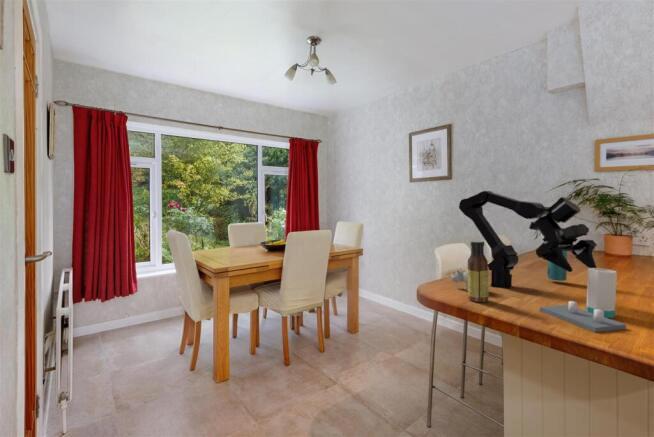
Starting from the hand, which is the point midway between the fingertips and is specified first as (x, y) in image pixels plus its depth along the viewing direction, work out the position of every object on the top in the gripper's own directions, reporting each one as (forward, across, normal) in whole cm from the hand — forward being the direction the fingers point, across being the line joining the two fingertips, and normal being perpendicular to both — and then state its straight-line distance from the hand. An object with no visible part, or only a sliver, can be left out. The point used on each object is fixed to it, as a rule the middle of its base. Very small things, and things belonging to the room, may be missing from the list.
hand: (583, 270), depth 97 cm
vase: (+12, 0, +5) cm, 13 cm away
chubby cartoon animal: (-10, -21, +27) cm, 35 cm away
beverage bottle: (-11, +21, +28) cm, 36 cm away
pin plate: (+13, -10, +3) cm, 17 cm away
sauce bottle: (-1, -26, +18) cm, 32 cm away
